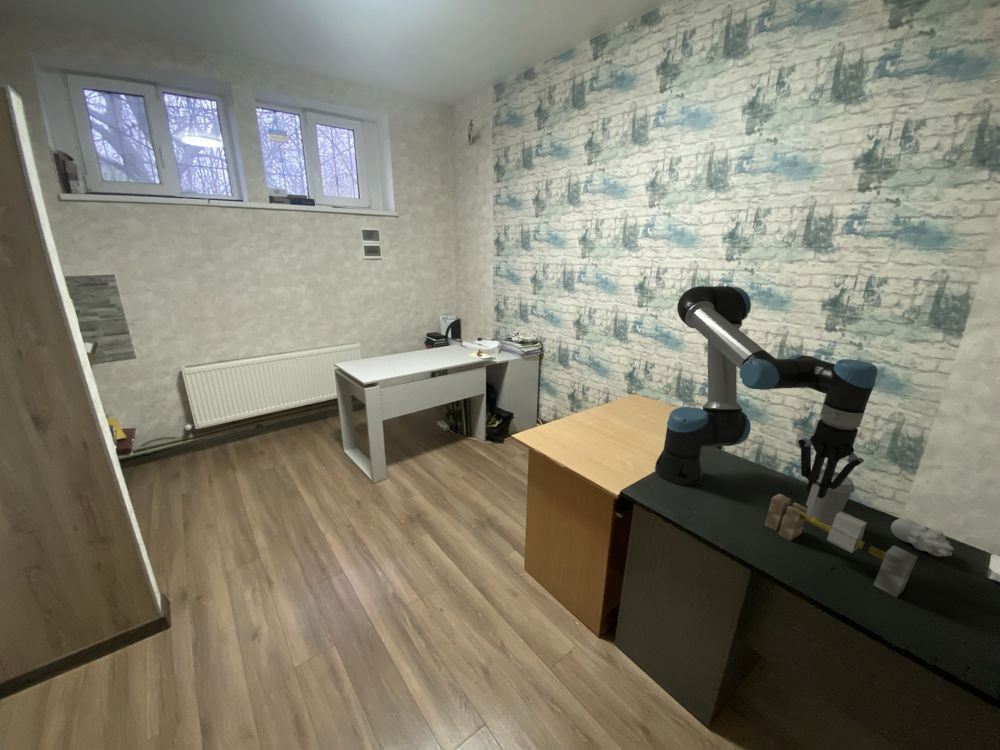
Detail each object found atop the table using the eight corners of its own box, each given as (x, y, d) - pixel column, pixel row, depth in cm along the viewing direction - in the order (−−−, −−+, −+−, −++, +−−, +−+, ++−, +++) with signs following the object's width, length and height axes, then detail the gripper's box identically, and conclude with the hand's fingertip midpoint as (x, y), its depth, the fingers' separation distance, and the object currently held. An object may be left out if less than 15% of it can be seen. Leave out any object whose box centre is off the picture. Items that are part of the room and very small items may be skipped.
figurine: (902, 520, 109) (964, 547, 98) (889, 539, 108) (949, 568, 98) (896, 509, 106) (959, 535, 95) (882, 528, 106) (944, 557, 95)
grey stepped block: (826, 540, 97) (834, 515, 95) (834, 534, 99) (842, 510, 97) (851, 553, 93) (860, 527, 91) (858, 547, 95) (867, 521, 93)
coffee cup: (849, 535, 106) (865, 488, 102) (810, 530, 108) (824, 483, 104) (828, 514, 115) (842, 469, 111) (792, 509, 117) (805, 465, 113)
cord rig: (762, 525, 110) (770, 496, 107) (773, 519, 113) (781, 490, 110) (895, 599, 87) (909, 565, 84) (904, 588, 90) (918, 555, 87)
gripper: (800, 416, 97) (777, 496, 105) (866, 437, 87) (835, 524, 94) (814, 410, 101) (790, 488, 108) (879, 430, 90) (848, 515, 98)
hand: (811, 505), depth 101 cm, fingers closed
